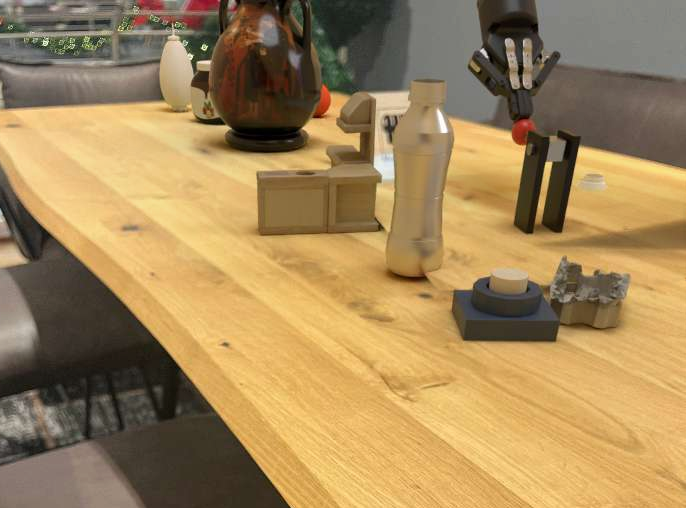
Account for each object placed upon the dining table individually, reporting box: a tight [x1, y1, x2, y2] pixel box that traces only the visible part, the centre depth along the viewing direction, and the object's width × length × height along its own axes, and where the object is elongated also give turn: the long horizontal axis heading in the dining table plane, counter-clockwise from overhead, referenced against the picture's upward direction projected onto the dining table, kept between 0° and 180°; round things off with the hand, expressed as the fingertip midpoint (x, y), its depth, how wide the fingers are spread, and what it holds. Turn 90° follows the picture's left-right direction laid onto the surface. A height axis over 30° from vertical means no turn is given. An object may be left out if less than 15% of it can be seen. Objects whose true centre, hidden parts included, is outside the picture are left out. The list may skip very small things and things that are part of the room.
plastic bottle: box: [384, 78, 456, 278], centre depth 83 cm, size 6×7×20 cm
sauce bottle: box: [158, 22, 195, 113], centre depth 177 cm, size 8×8×18 cm
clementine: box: [312, 83, 332, 118], centre depth 176 cm, size 8×7×7 cm
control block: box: [451, 275, 561, 343], centre depth 76 cm, size 9×8×4 cm
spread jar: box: [190, 59, 226, 125], centre depth 168 cm, size 12×11×12 cm
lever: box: [510, 119, 566, 163], centre depth 99 cm, size 12×3×3 cm, turn 10°
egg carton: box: [549, 255, 631, 329], centre depth 79 cm, size 11×8×4 cm
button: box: [489, 267, 530, 295], centre depth 74 cm, size 4×4×2 cm
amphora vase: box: [208, 0, 323, 152], centre depth 142 cm, size 22×22×28 cm
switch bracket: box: [513, 129, 582, 235], centre depth 98 cm, size 7×7×13 cm
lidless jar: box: [576, 173, 608, 192], centre depth 119 cm, size 5×3×5 cm
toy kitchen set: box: [255, 91, 383, 236], centre depth 105 cm, size 18×17×15 cm
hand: (522, 120), depth 102 cm, fingers closed
